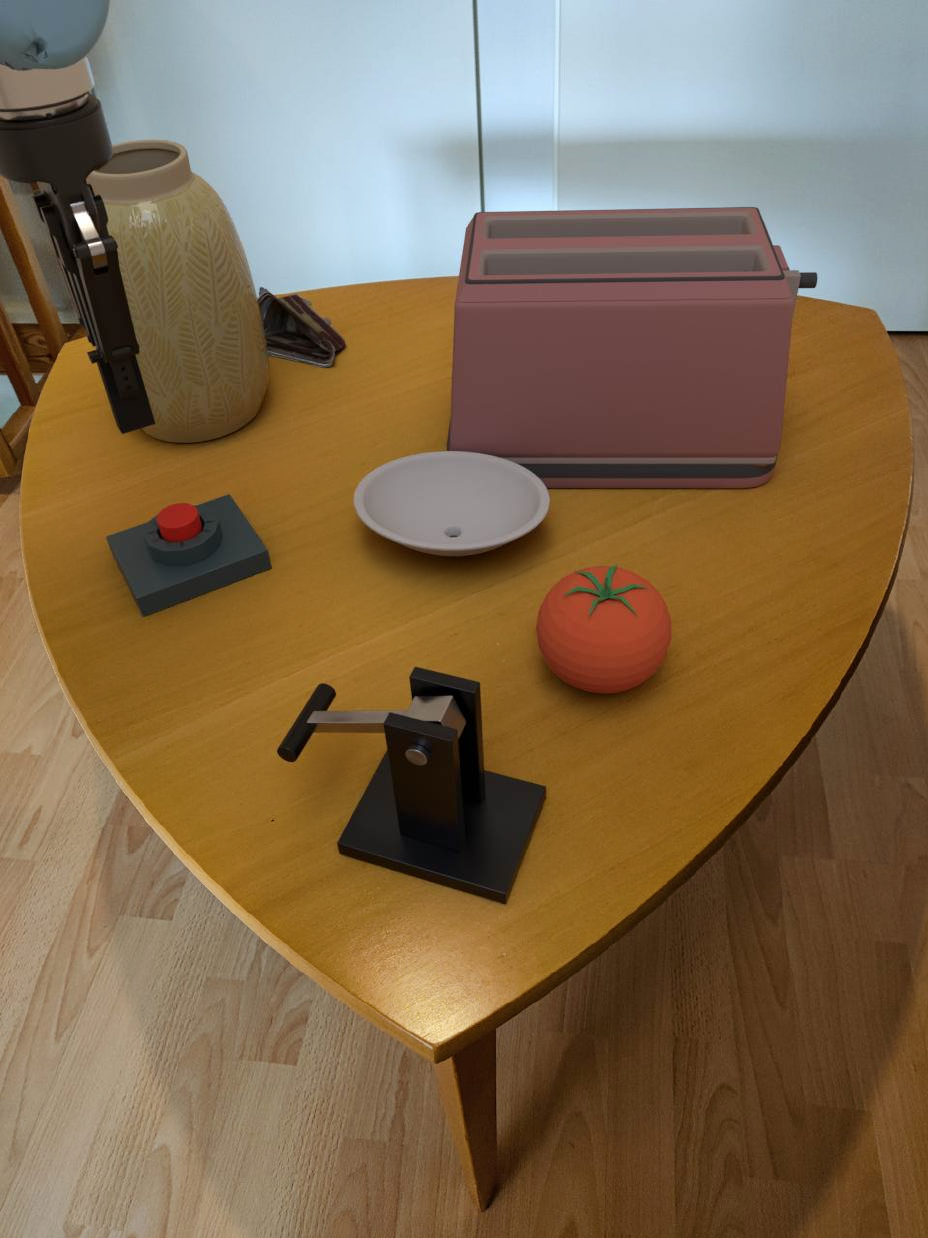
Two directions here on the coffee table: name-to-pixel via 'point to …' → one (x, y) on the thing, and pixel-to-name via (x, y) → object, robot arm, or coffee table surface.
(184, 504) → the button
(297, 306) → the chocolate cake
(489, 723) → the coffee table surface
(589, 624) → the tomato
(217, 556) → the control block
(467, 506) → the dish
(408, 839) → the bracket
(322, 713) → the lever
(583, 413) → the toaster
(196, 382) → the vase
